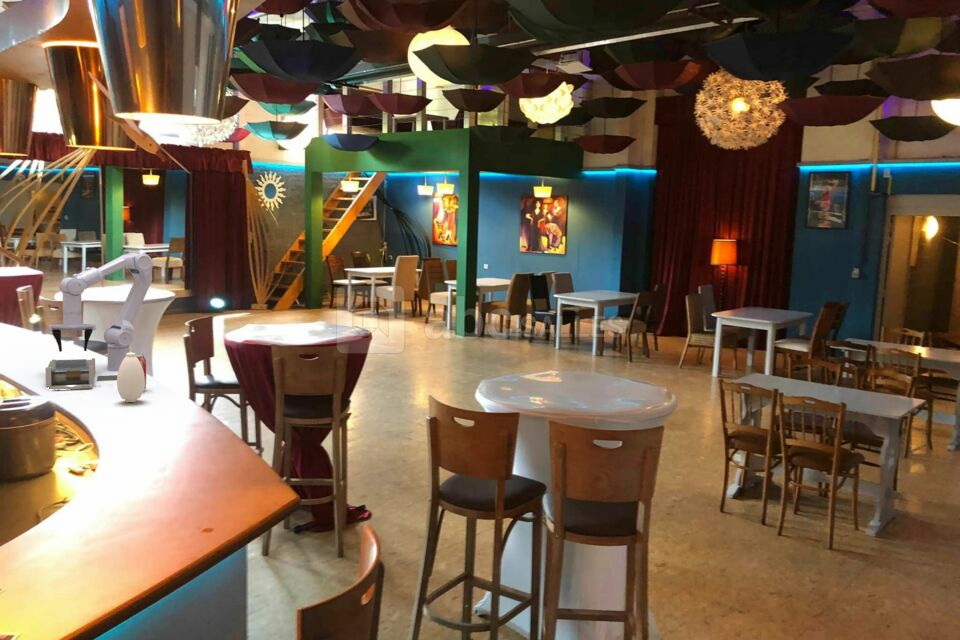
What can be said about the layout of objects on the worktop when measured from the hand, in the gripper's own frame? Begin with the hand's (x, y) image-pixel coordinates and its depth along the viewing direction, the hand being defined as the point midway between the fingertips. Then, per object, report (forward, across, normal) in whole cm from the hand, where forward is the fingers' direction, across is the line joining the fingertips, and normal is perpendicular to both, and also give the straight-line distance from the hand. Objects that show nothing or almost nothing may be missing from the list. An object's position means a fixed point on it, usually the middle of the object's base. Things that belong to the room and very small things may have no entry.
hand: (73, 350), depth 272 cm
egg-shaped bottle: (+9, +18, -45) cm, 49 cm away
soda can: (+9, +19, -29) cm, 36 cm away
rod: (+9, 0, -23) cm, 25 cm away
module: (+8, 0, 0) cm, 8 cm away
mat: (+9, +12, -8) cm, 17 cm away
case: (+9, 0, -7) cm, 12 cm away
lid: (+3, 0, -12) cm, 12 cm away
